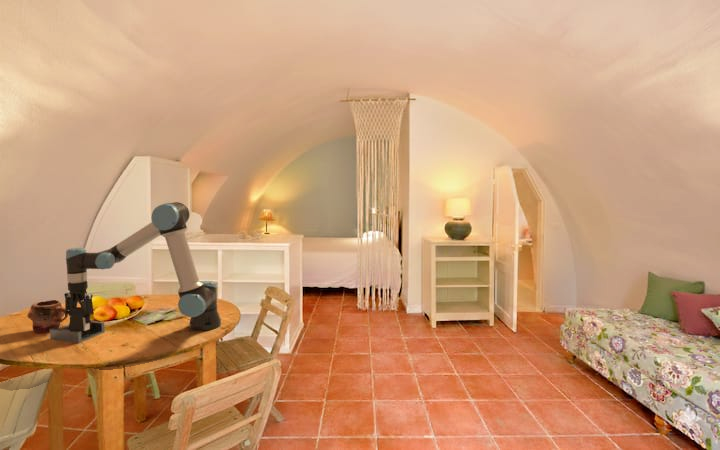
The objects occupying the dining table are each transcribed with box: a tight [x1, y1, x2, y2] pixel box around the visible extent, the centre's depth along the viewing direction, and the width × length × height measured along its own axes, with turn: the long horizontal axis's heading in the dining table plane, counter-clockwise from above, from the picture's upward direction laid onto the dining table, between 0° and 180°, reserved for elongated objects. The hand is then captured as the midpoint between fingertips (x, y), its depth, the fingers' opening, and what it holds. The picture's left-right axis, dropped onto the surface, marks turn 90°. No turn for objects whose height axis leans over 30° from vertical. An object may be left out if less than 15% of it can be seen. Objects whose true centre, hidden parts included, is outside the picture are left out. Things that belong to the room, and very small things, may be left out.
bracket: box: [49, 320, 106, 344], centre depth 191 cm, size 16×14×5 cm
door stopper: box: [68, 306, 93, 335], centre depth 190 cm, size 9×6×12 cm, turn 178°
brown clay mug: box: [27, 299, 69, 335], centre depth 196 cm, size 20×12×14 cm, turn 89°
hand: (80, 329), depth 190 cm, fingers closed on door stopper, 6 cm apart
